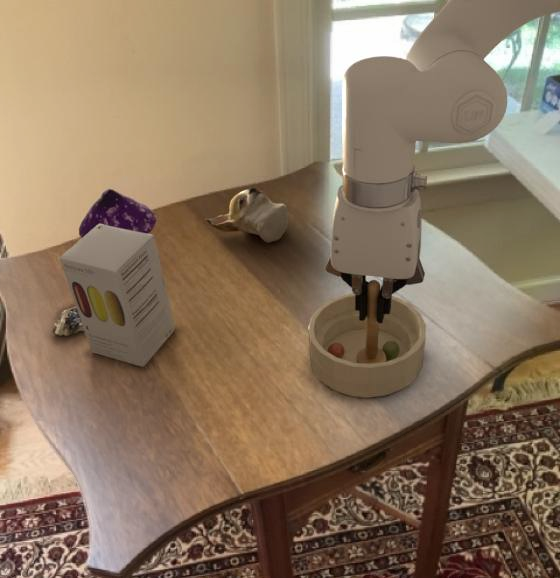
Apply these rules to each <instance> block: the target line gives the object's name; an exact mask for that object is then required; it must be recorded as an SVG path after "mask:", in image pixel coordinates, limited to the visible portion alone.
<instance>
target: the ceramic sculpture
mask: <svg viewBox="0 0 560 578" xmlns="http://www.w3.org/2000/svg"><path fill="white" fill-rule="evenodd" d="M205 221H206V222H207V223H208V224H209V225H210V226H212V227H213V228H215V229H216V230H218V231H220V232H224V233H231V232H232V233H233V232H243V233H246V234H252V235H257V236H259V237H260V238H261V239H262V241H263V242H265V243H267V244H269V243H272V242H276V241H278V240H280V239H281V238H282V237H283V235H284V233H285V232H286V230H287V227H288V225H289V210H288V207H287V205H286V204H285V203H275V202H273V201H272V200H271V199H270V198H269V197H268V196H267V194H266V193H265V192H264V191H262V190H260V189H257V188H255V187H251V188H249V189H244V190H242V191H240V192H238V193H237V194H235V195H234V196H233V198H231V200H230V202H229V212H228V213H227V214H220V215H218V216H216V217H215V218H205Z"/></svg>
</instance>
